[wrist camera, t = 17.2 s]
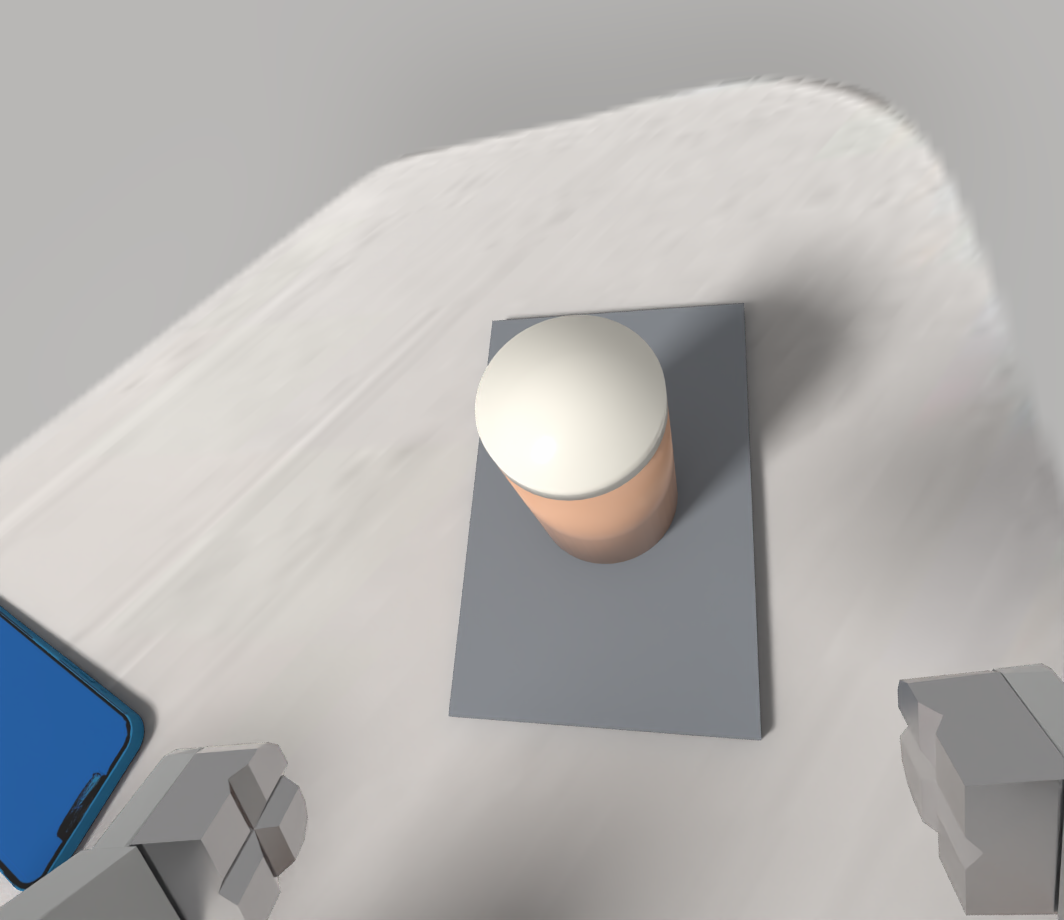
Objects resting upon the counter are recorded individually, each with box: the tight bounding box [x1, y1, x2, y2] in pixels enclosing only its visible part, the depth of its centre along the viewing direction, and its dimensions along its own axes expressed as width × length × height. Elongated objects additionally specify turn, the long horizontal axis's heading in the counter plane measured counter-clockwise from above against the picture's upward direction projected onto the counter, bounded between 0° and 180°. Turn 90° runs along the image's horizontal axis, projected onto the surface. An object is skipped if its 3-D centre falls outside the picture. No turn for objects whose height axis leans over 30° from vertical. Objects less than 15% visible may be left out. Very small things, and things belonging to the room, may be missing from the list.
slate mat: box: [449, 303, 761, 740], centre depth 28 cm, size 17×11×1 cm, turn 176°
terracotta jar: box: [475, 315, 678, 564], centre depth 24 cm, size 6×6×8 cm
